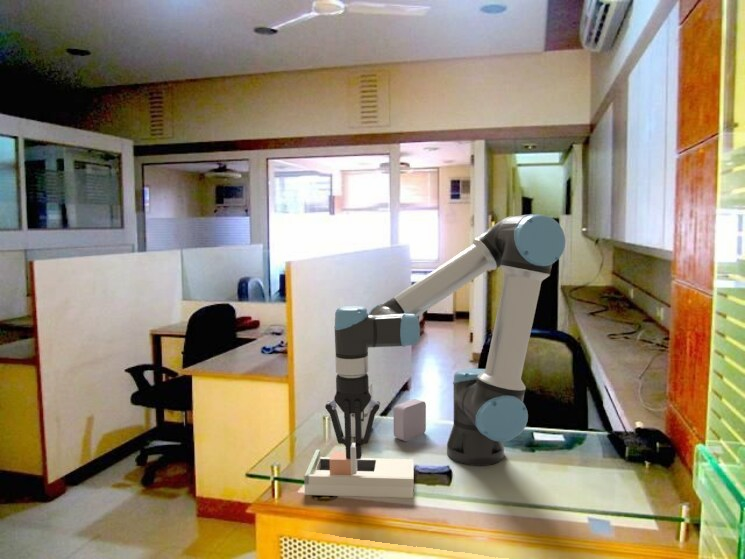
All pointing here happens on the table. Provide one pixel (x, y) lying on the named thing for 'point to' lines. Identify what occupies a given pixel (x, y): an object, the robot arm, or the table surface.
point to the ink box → (362, 417)
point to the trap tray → (361, 478)
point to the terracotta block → (340, 463)
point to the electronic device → (409, 419)
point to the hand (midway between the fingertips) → (354, 471)
